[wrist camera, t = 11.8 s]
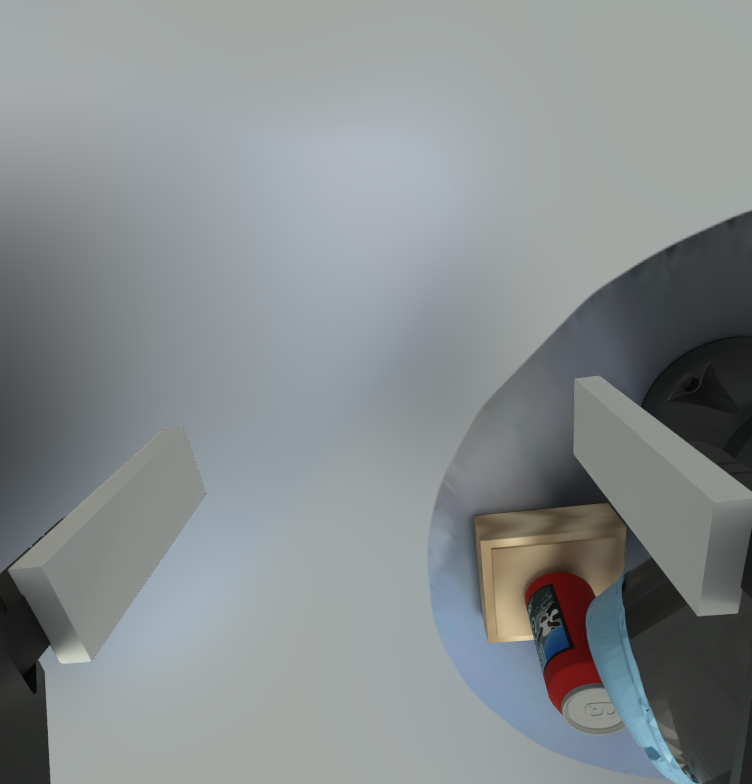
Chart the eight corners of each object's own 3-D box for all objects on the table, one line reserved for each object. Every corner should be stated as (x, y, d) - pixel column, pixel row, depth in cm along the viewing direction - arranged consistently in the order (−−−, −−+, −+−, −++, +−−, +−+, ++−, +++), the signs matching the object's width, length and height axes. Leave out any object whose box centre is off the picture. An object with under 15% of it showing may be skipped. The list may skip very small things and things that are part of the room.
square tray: (607, 502, 47) (627, 529, 43) (603, 603, 52) (620, 635, 48) (473, 515, 48) (480, 542, 44) (481, 613, 53) (488, 645, 49)
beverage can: (519, 569, 45) (549, 684, 34) (589, 562, 44) (644, 679, 33) (526, 619, 47) (556, 742, 36) (593, 614, 46) (646, 740, 35)
